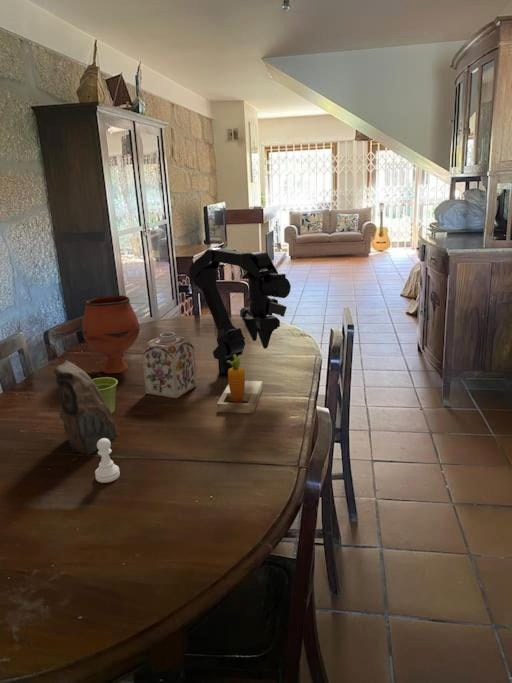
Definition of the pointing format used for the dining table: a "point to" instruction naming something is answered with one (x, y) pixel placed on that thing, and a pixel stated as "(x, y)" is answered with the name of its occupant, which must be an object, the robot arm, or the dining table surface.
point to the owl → (83, 409)
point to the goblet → (110, 329)
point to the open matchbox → (250, 394)
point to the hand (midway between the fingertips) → (259, 344)
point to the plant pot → (107, 390)
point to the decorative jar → (169, 366)
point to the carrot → (236, 380)
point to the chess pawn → (106, 463)
